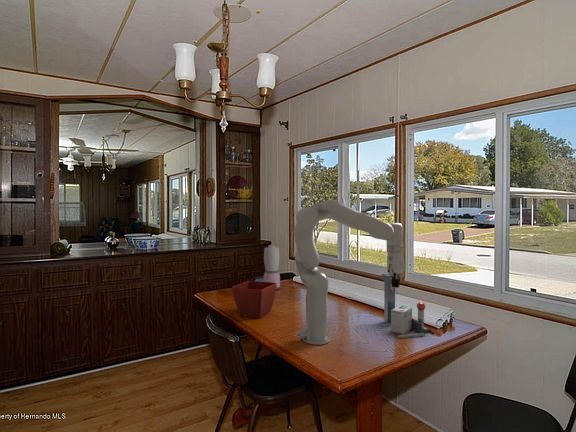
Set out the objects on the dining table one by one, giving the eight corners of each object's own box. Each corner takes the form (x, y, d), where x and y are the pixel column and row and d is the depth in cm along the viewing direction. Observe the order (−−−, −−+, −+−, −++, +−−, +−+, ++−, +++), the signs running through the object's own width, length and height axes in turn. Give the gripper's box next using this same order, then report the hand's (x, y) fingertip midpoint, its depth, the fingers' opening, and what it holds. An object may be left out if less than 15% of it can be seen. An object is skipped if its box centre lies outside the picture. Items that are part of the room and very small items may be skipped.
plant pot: (231, 316, 194) (230, 286, 193) (249, 307, 211) (249, 280, 210) (261, 321, 185) (261, 290, 185) (277, 311, 203) (277, 282, 202)
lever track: (423, 335, 165) (423, 332, 165) (402, 321, 184) (402, 319, 184) (434, 334, 166) (434, 331, 166) (412, 321, 185) (412, 318, 185)
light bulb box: (399, 325, 178) (399, 304, 178) (412, 328, 174) (412, 307, 174) (390, 331, 170) (390, 309, 170) (404, 334, 166) (404, 312, 165)
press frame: (398, 338, 161) (398, 284, 160) (375, 321, 185) (375, 274, 184) (425, 336, 163) (425, 283, 163) (399, 319, 187) (399, 273, 187)
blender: (275, 291, 252) (275, 247, 251) (260, 289, 257) (260, 246, 256) (284, 287, 266) (284, 245, 265) (270, 285, 271) (270, 244, 270)
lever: (420, 331, 169) (420, 303, 169) (414, 327, 174) (414, 301, 174) (427, 330, 170) (427, 303, 170) (421, 327, 175) (421, 300, 175)
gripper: (395, 251, 159) (396, 291, 159) (408, 247, 170) (409, 284, 171) (380, 250, 164) (381, 289, 164) (393, 246, 175) (394, 283, 176)
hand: (395, 286), depth 167 cm, fingers closed
